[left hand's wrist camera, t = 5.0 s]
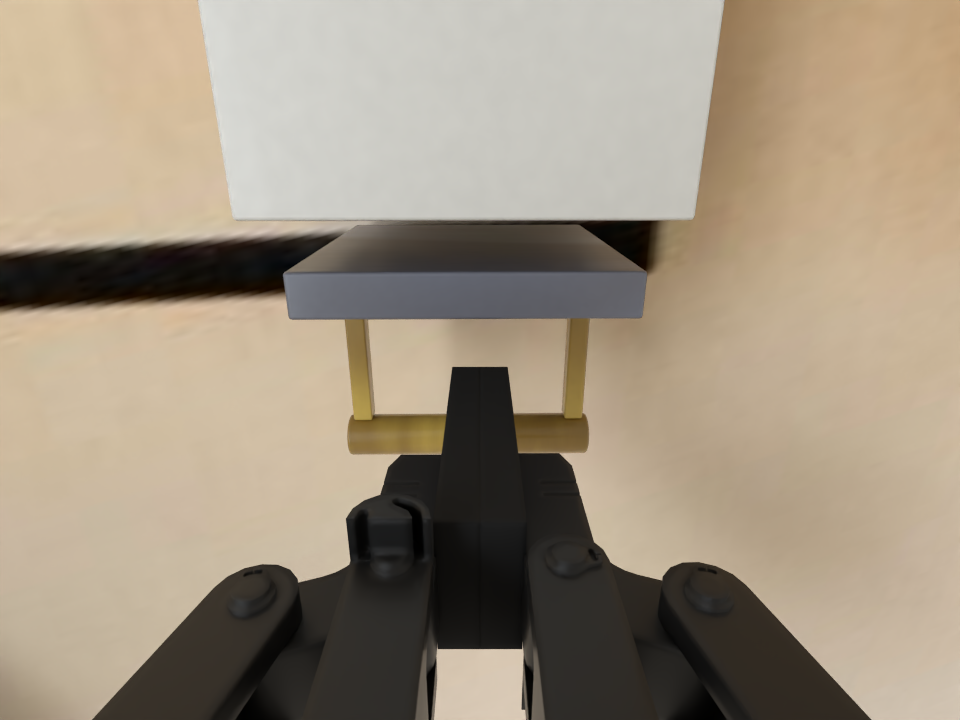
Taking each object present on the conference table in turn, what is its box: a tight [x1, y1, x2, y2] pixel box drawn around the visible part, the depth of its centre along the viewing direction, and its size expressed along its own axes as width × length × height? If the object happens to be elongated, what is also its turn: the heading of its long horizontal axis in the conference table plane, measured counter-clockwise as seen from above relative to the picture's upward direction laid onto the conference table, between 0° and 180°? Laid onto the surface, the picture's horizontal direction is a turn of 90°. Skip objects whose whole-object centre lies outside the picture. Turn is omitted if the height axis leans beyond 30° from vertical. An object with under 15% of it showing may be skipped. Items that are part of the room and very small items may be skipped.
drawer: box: [283, 225, 647, 454], centre depth 15 cm, size 26×9×9 cm, turn 0°
